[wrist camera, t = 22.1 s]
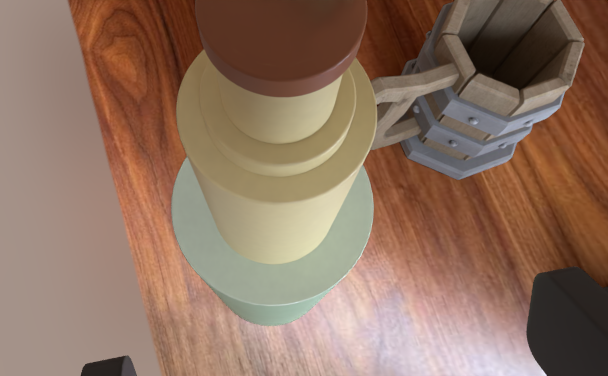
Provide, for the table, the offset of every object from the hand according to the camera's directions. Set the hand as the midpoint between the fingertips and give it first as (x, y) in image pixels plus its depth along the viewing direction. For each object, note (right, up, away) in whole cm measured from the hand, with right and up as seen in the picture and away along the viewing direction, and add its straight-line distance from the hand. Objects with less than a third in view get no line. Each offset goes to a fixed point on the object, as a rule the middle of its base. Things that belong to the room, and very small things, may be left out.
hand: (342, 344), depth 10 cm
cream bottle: (-2, +2, +16) cm, 16 cm away
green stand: (-4, -4, +37) cm, 37 cm away
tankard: (+11, +9, +42) cm, 44 cm away
